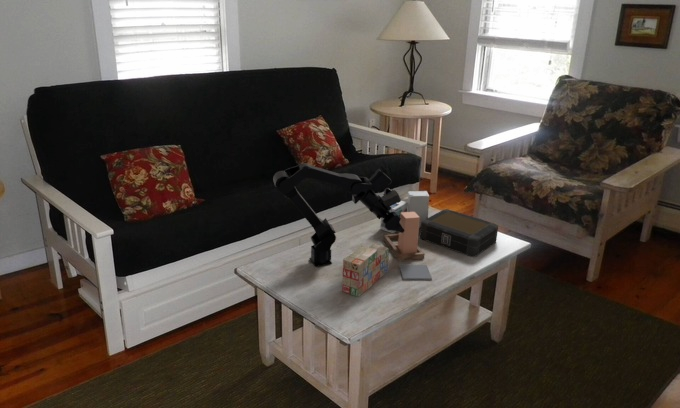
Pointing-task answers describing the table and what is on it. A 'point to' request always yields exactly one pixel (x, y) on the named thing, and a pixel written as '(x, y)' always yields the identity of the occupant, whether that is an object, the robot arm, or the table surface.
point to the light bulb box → (398, 209)
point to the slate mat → (415, 272)
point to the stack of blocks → (364, 268)
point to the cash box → (459, 232)
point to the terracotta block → (408, 233)
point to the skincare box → (418, 204)
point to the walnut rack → (396, 252)
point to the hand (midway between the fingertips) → (399, 226)
